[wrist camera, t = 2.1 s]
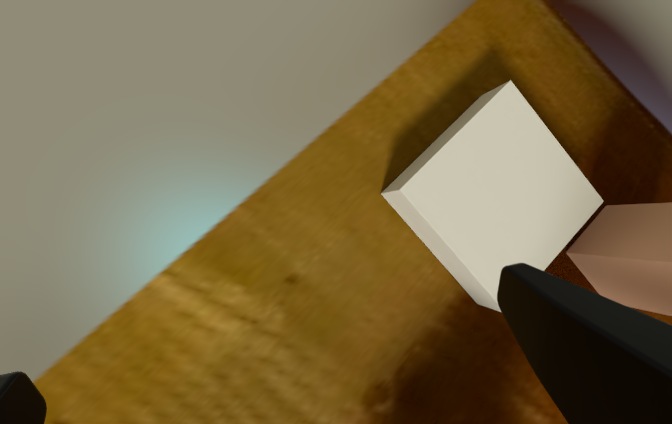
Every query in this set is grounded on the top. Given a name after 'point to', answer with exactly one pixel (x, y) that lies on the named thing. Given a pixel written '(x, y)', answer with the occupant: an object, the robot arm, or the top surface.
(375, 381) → the top surface
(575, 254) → the terracotta block
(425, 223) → the block
